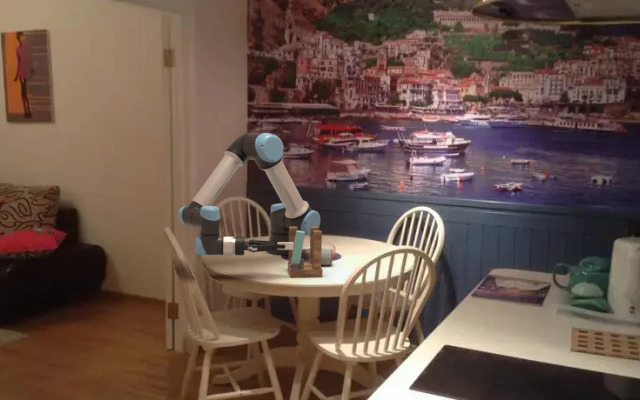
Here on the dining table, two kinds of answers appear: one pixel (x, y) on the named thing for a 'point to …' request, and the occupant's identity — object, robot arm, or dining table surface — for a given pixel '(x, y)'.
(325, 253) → the ceramic mug
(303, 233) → the hinged leg
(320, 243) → the upturned wooden stool
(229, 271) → the dining table surface
